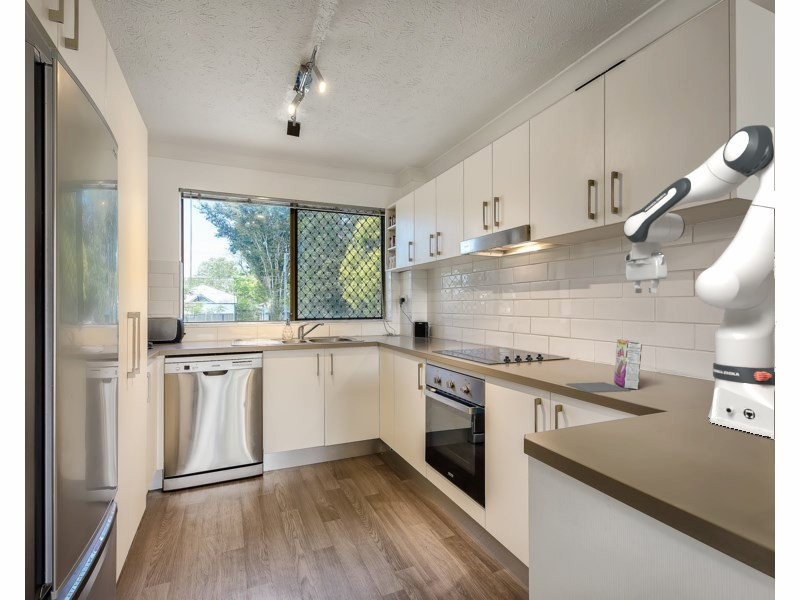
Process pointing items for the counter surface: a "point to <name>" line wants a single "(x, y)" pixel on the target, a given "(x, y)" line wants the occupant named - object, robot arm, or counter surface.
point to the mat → (597, 387)
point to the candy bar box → (627, 363)
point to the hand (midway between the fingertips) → (645, 293)
